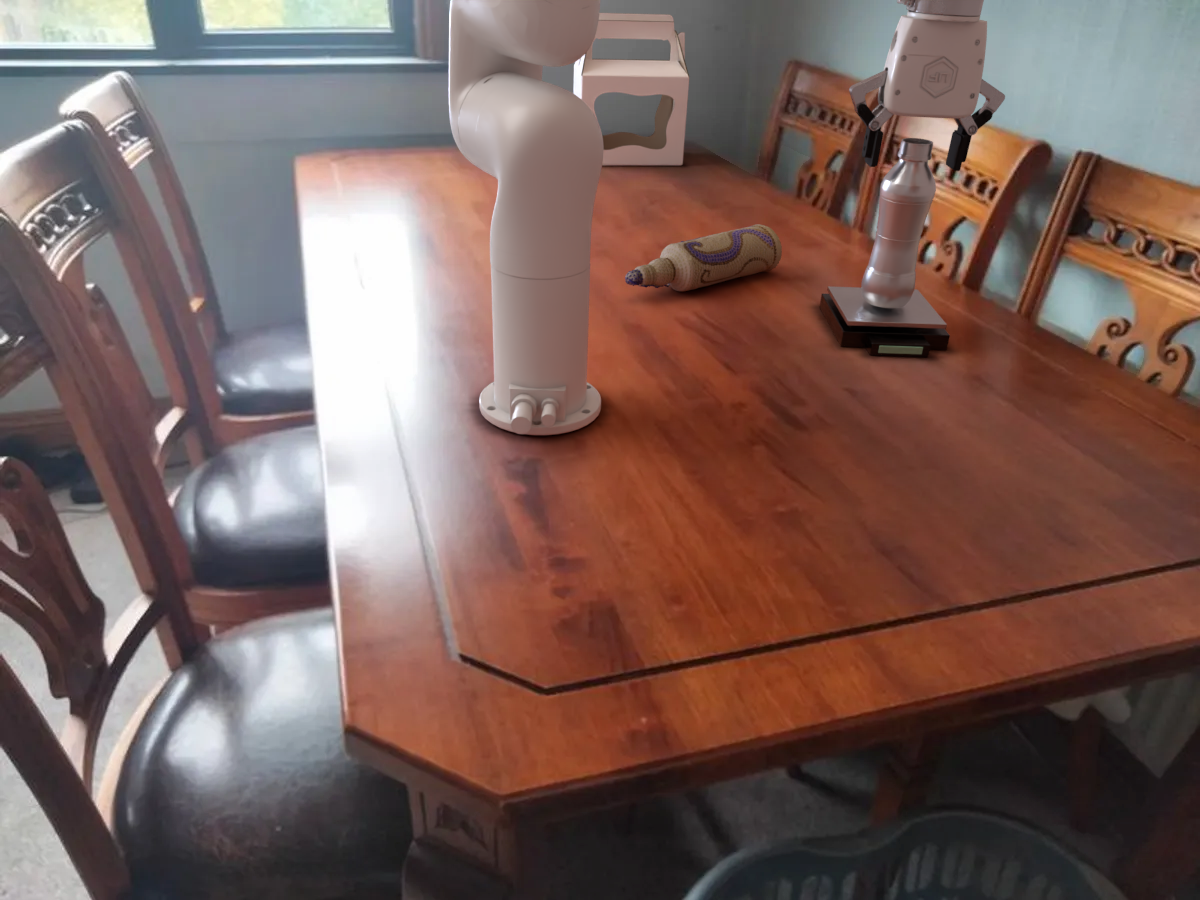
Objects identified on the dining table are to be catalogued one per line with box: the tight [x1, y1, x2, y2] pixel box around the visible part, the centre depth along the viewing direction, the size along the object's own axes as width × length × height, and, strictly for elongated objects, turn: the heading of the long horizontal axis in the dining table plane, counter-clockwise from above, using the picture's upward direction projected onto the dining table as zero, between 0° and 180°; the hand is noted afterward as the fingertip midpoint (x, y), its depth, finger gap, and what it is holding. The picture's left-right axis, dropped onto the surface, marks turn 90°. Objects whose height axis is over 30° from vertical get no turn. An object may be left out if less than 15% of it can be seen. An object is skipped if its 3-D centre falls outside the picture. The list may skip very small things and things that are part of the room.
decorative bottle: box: [624, 223, 783, 292], centre depth 127 cm, size 26×8×7 cm, turn 125°
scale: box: [819, 285, 951, 358], centre depth 115 cm, size 16×13×3 cm
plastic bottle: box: [860, 137, 937, 308], centre depth 110 cm, size 6×7×20 cm
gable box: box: [572, 12, 690, 167], centre depth 187 cm, size 22×13×28 cm, turn 98°
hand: (911, 166), depth 106 cm, fingers open, 9 cm apart
